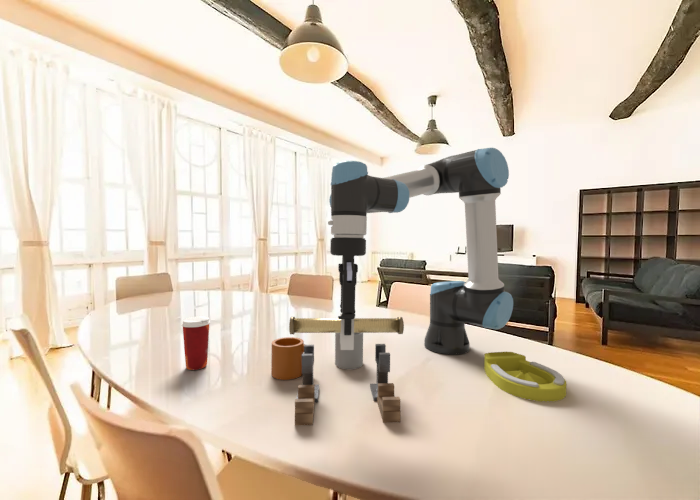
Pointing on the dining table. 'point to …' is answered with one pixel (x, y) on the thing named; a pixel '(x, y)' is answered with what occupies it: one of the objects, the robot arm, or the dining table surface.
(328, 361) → the dining table surface
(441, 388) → the dining table surface
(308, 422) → the rest
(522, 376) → the ashtray
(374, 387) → the post
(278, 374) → the mug
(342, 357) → the cup
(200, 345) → the paper cup
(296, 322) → the rail
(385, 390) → the rest
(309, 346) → the post
